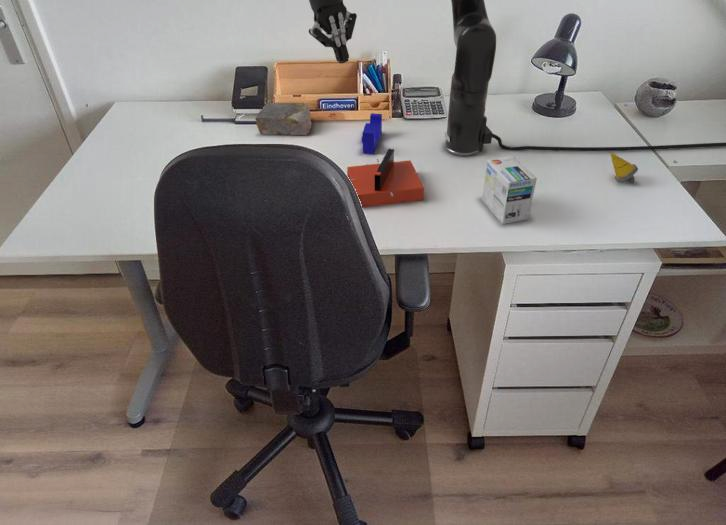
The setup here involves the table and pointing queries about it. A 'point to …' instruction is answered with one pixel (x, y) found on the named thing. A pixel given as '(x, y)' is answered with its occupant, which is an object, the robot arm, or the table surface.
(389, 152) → the black divider wall
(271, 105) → the geological specimen
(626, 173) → the yellow cone
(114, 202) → the table surface
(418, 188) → the red flat rectangular block
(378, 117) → the cable clip
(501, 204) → the light bulb box
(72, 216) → the table surface
